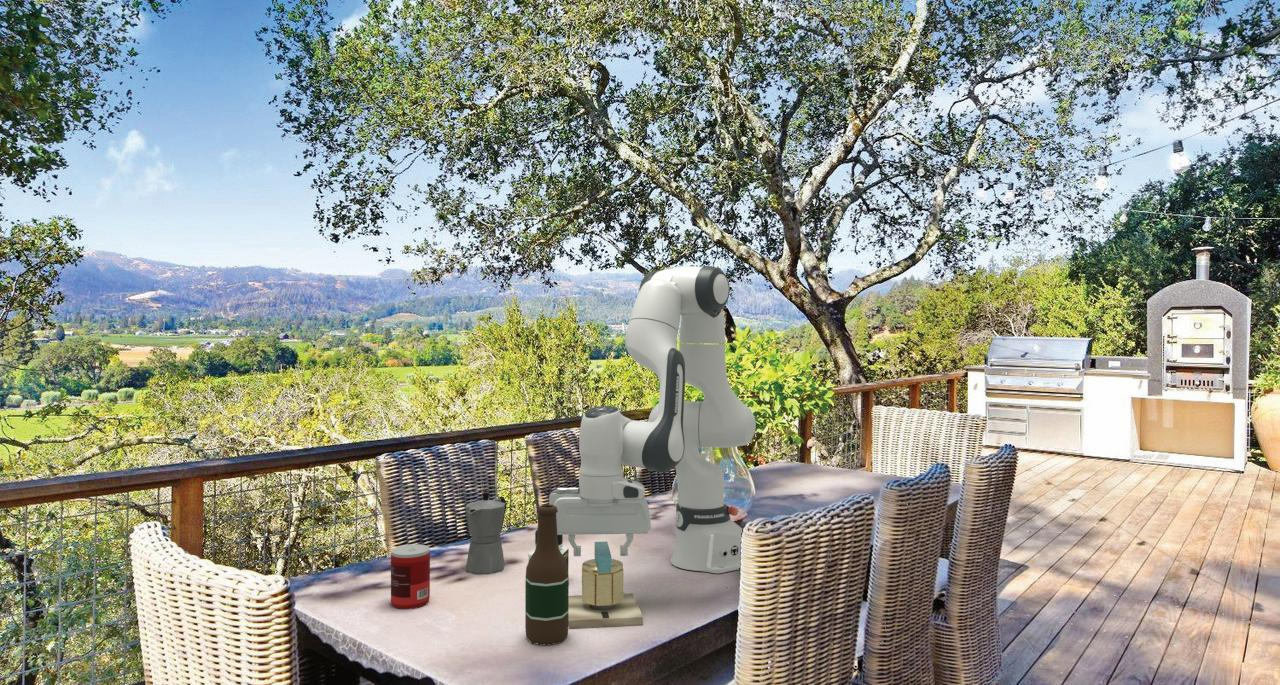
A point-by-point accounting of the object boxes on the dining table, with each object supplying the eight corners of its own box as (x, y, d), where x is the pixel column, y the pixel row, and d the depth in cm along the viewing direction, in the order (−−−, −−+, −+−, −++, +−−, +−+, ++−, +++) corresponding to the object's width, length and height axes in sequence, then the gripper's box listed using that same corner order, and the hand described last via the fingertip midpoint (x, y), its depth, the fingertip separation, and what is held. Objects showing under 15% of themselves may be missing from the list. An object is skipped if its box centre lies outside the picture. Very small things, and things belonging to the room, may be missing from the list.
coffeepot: (487, 579, 178) (488, 499, 177) (452, 574, 181) (452, 495, 181) (521, 560, 192) (522, 486, 192) (488, 556, 195) (488, 483, 195)
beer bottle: (568, 645, 140) (568, 510, 140) (523, 646, 140) (524, 510, 140) (568, 629, 148) (569, 501, 148) (526, 630, 148) (527, 501, 147)
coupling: (583, 608, 150) (583, 557, 150) (581, 590, 161) (581, 542, 161) (625, 607, 151) (625, 556, 151) (620, 588, 162) (620, 541, 162)
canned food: (431, 595, 167) (431, 543, 167) (427, 608, 159) (428, 553, 159) (393, 597, 165) (393, 544, 165) (388, 610, 158) (388, 555, 157)
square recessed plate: (564, 603, 162) (565, 571, 162) (632, 600, 164) (632, 568, 164) (568, 628, 148) (569, 593, 148) (642, 624, 151) (643, 590, 150)
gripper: (548, 490, 156) (548, 560, 156) (651, 489, 158) (651, 559, 158) (549, 484, 162) (549, 551, 163) (649, 483, 164) (648, 550, 164)
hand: (600, 555), depth 160 cm, fingers open, 8 cm apart
